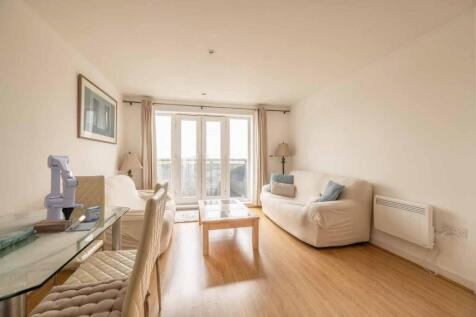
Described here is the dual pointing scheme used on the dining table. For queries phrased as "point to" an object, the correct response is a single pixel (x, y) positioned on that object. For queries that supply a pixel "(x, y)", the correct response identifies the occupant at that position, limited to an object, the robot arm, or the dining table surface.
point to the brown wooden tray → (52, 225)
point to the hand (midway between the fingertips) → (67, 219)
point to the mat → (81, 227)
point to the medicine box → (92, 213)
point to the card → (77, 222)
